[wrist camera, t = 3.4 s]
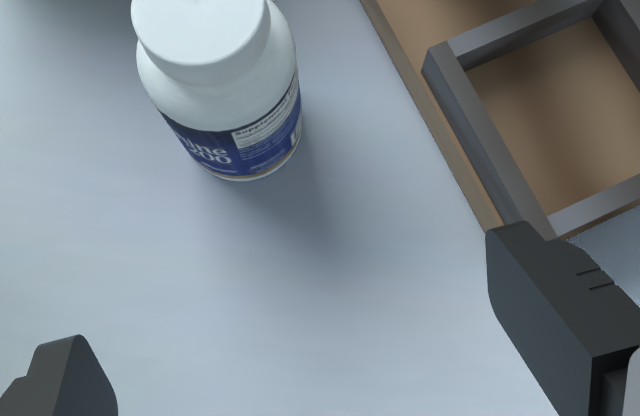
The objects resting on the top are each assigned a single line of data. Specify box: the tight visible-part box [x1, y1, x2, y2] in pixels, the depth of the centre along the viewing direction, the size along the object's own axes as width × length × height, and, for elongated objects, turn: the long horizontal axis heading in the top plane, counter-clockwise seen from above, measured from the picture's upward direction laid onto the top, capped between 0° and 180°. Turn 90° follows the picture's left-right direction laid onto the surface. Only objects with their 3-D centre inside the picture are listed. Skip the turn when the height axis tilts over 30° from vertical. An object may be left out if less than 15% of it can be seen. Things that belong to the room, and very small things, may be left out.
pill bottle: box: [131, 0, 302, 181], centre depth 22 cm, size 5×5×10 cm
